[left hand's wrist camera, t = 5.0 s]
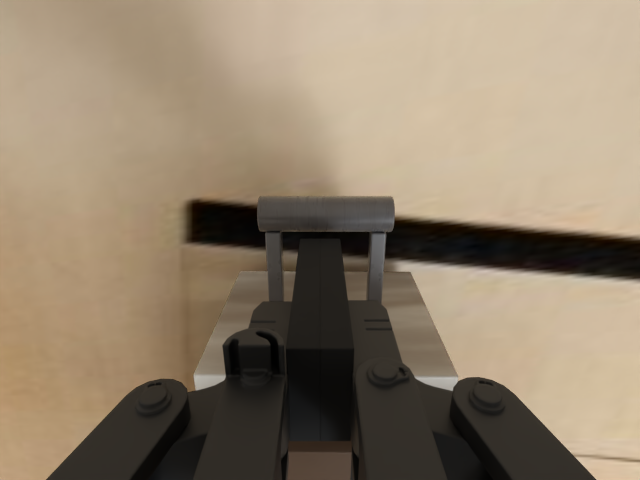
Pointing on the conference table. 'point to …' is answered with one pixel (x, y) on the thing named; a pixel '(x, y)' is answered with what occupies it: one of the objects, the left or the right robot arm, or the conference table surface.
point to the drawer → (387, 287)
